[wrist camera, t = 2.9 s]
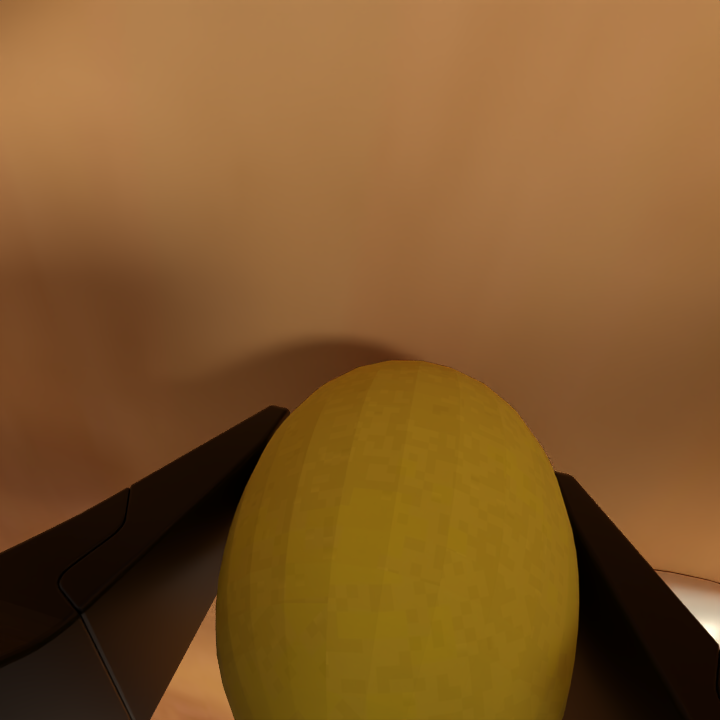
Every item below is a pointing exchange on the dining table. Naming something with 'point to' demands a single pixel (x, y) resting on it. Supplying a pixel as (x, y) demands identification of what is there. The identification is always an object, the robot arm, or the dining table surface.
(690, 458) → the dining table surface
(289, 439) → the lemon
